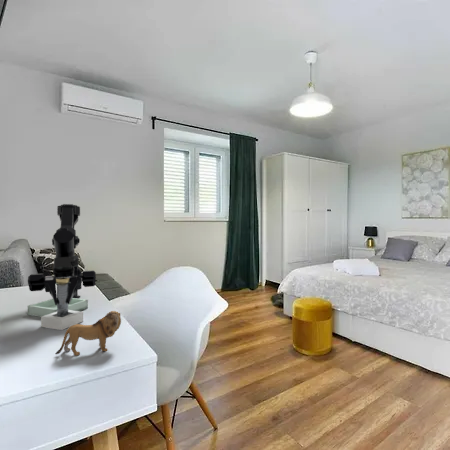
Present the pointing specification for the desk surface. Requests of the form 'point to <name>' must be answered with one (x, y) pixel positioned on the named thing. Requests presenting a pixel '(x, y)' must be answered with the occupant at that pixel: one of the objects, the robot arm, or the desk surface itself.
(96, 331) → the lion figurine
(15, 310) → the desk surface
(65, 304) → the pin
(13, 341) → the desk surface
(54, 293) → the robot arm
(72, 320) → the socket block
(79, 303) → the tray
